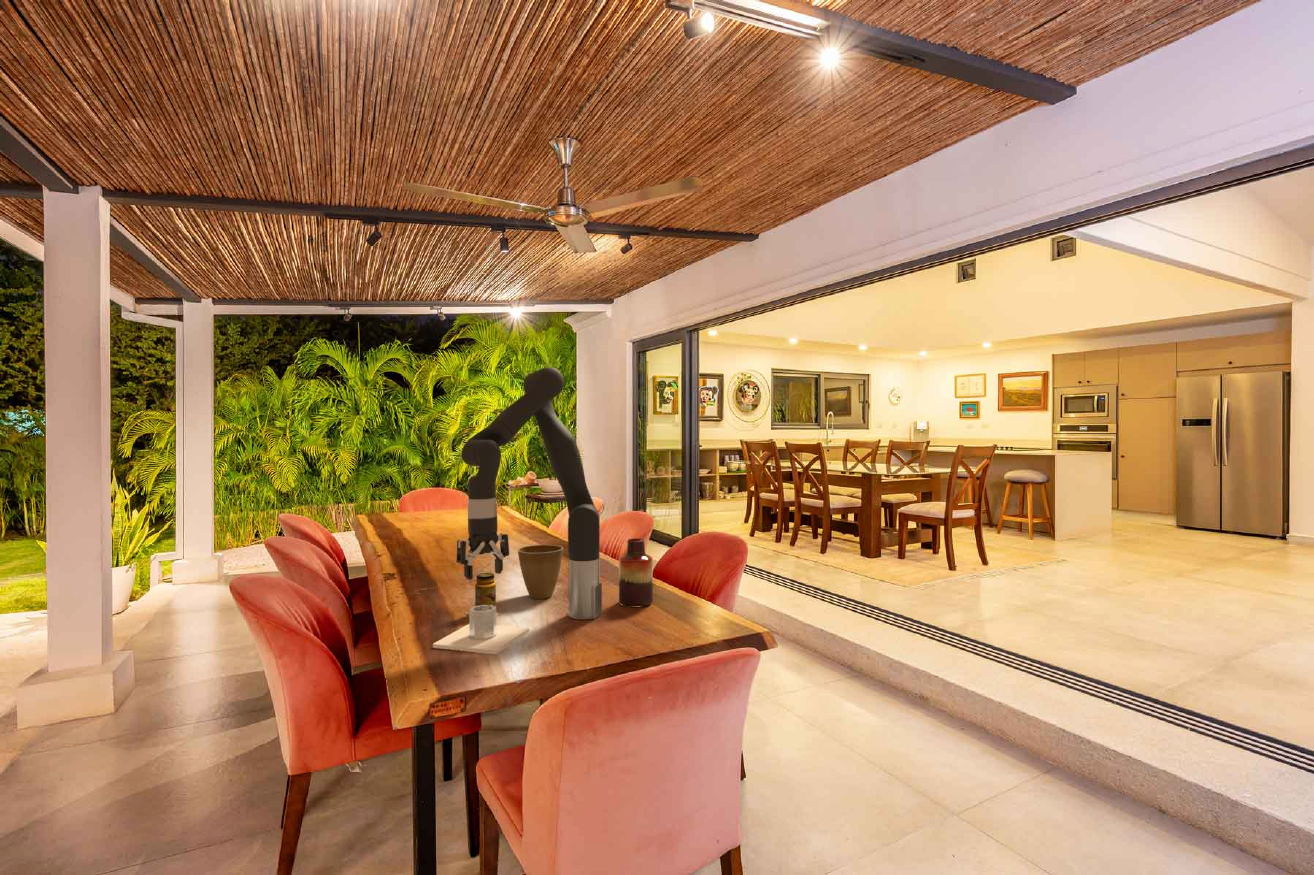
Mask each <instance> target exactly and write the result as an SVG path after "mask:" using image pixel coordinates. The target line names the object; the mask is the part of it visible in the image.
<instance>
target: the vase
mask: <svg viewBox="0 0 1314 875" xmlns="http://www.w3.org/2000/svg"><path fill="white" fill-rule="evenodd" d="M645 546H646V545H645V539H644V538H639V537H638V538H633V537H632V538H627V541H626V553H625V554H622V555H621V556H620V557H619V559H618V603H621V604H623V605H625V606H624V607H626V606H645V607H647V606H646V605H649V604H651V603H652V604H653V601H654V598H653V595H654V594H653V593H654V592H653V589H654V588H653V583H654V582H653V580H654V577H653V575H654V574H653V573H654V571H653V570H654V569H653V566H654V564H653V556H651V555H649V554H647V553H646V547H645ZM652 604H651V605H652ZM649 606H650V605H649Z"/></svg>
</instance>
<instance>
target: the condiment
mask: <svg viewBox="0 0 1314 875" xmlns="http://www.w3.org/2000/svg"><path fill="white" fill-rule="evenodd" d="M475 578H476V580H475V581H476V584H475V585H474V587H475V588H474V590H475V591H474V594H475V597H474V599H475V600H474V603H475V605H474V607H475V606H479V605H492V606H495V607H496V608H497V594H496V593H497V589H496V588H497V583H496V582H495V580H496V579H495V574H494V573H491V572H482V573H478V574H477V575H476V577H475ZM464 613H465V615H467V614H468V615H469V611H465V612H464ZM496 614H500V613H499V612H497V613H496ZM468 615H467V616H468Z"/></svg>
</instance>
